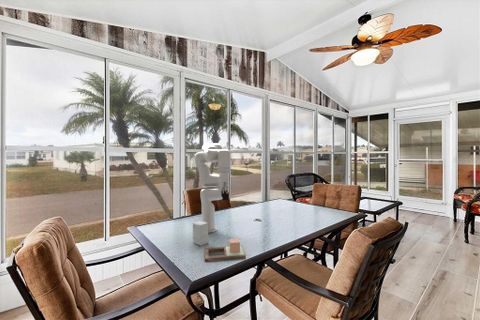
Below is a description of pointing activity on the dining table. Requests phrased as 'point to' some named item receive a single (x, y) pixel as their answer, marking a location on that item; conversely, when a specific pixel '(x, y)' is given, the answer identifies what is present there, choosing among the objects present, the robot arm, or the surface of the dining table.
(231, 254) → the hole board
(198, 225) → the small box
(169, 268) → the dining table surface
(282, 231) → the dining table surface
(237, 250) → the terracotta cube
